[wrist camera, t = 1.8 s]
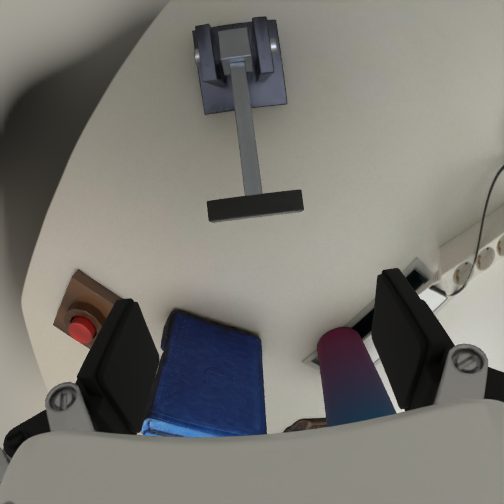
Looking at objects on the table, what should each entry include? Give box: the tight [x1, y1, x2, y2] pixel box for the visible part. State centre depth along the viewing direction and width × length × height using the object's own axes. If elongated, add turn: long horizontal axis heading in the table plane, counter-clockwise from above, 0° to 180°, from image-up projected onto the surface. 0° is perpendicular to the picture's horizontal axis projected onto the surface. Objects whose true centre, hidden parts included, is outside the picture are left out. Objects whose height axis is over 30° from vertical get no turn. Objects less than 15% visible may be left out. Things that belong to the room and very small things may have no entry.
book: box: [141, 311, 267, 437], centre depth 39 cm, size 14×5×20 cm, turn 68°
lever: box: [207, 27, 304, 223], centre depth 21 cm, size 14×6×2 cm, turn 8°
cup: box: [317, 327, 397, 427], centre depth 40 cm, size 10×10×22 cm
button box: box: [53, 270, 122, 349], centre depth 45 cm, size 12×10×4 cm
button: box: [68, 316, 96, 343], centre depth 42 cm, size 4×4×2 cm
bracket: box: [192, 17, 287, 115], centre depth 25 cm, size 10×9×14 cm
